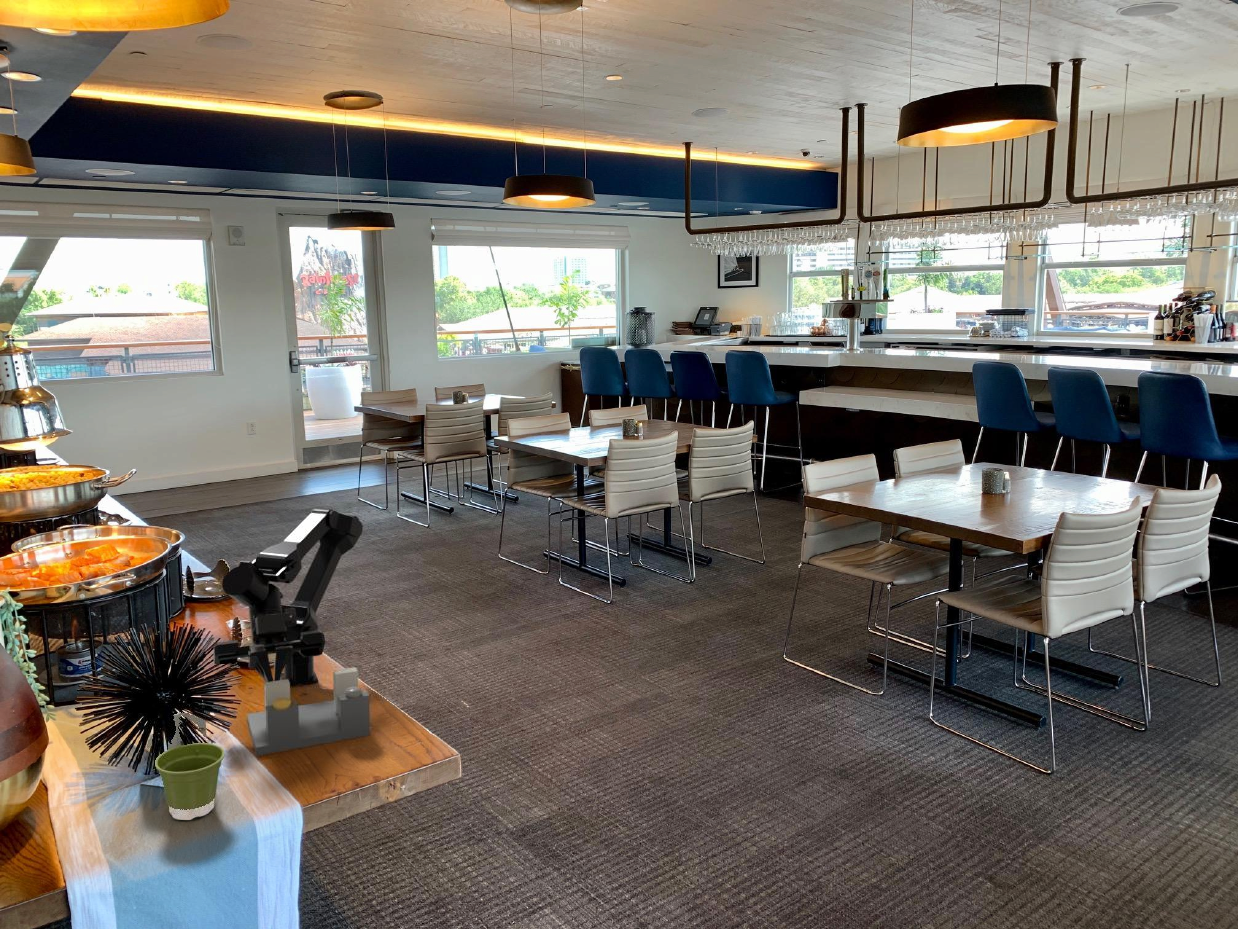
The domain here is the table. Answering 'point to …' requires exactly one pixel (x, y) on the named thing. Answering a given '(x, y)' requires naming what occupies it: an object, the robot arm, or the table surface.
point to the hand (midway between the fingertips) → (274, 693)
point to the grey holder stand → (310, 722)
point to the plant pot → (190, 774)
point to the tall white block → (276, 691)
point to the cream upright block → (343, 682)
